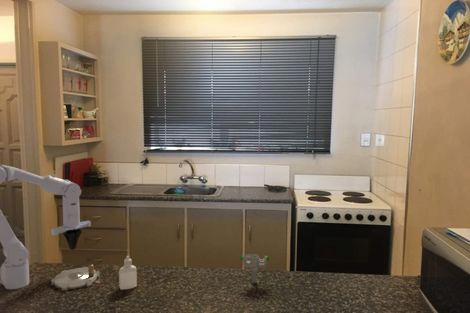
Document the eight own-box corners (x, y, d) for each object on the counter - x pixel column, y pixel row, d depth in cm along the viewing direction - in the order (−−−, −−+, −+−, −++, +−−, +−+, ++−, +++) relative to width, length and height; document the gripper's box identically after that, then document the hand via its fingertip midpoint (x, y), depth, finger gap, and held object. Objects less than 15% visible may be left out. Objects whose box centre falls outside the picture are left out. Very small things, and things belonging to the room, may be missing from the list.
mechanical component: (268, 284, 125) (269, 257, 124) (240, 283, 125) (240, 257, 124) (267, 280, 127) (268, 254, 127) (240, 280, 128) (240, 253, 127)
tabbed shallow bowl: (43, 289, 116) (43, 273, 116) (67, 270, 132) (67, 256, 131) (85, 290, 116) (85, 275, 115) (104, 271, 131) (104, 257, 131)
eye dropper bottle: (134, 292, 117) (133, 258, 116) (117, 292, 117) (117, 258, 116) (138, 286, 121) (137, 253, 120) (122, 286, 122) (122, 253, 121)
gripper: (57, 219, 122) (59, 257, 123) (95, 211, 134) (95, 245, 135) (47, 216, 126) (49, 252, 127) (84, 208, 138) (85, 241, 139)
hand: (72, 248), depth 131 cm, fingers closed
